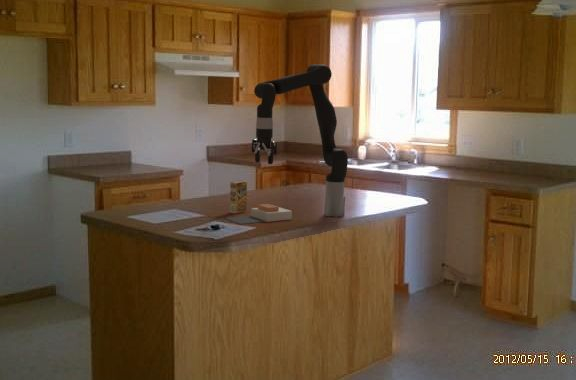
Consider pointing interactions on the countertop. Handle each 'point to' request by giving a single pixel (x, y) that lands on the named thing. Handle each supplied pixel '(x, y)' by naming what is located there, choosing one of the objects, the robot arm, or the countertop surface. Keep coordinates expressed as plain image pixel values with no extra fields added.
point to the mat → (245, 220)
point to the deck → (271, 214)
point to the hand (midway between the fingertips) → (263, 163)
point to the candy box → (238, 197)
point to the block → (268, 207)
